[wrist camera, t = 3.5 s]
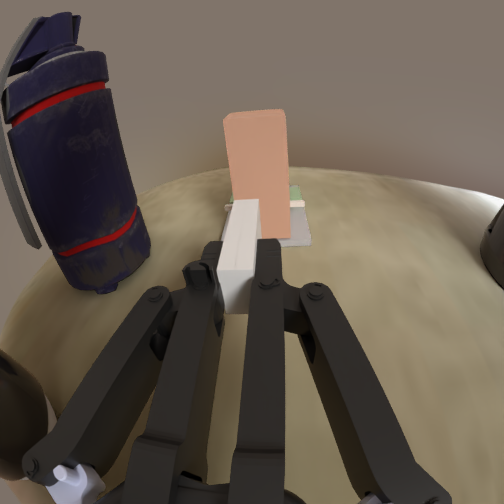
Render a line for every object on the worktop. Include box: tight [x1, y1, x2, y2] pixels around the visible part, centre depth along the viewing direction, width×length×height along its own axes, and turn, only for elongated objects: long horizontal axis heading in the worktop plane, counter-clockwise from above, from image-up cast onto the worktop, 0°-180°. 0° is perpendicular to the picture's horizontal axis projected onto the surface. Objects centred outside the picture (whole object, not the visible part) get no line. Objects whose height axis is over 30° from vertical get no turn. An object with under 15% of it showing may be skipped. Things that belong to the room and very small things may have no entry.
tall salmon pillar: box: [223, 109, 305, 239], centre depth 27 cm, size 10×5×13 cm, turn 87°
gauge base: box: [221, 185, 311, 247], centre depth 35 cm, size 10×15×2 cm, turn 177°
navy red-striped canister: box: [0, 12, 151, 294], centre depth 21 cm, size 14×12×30 cm
